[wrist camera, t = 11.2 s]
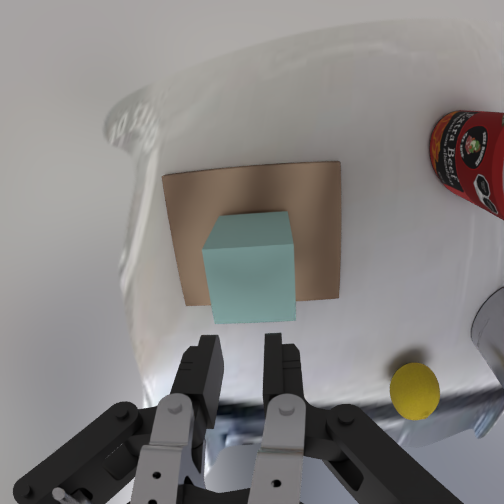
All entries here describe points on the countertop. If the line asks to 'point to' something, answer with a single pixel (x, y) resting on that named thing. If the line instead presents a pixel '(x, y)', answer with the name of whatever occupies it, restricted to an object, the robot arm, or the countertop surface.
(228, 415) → the countertop surface
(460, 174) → the canned food
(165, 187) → the stand
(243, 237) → the mint foam cube
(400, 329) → the countertop surface
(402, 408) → the lemon
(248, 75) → the countertop surface
